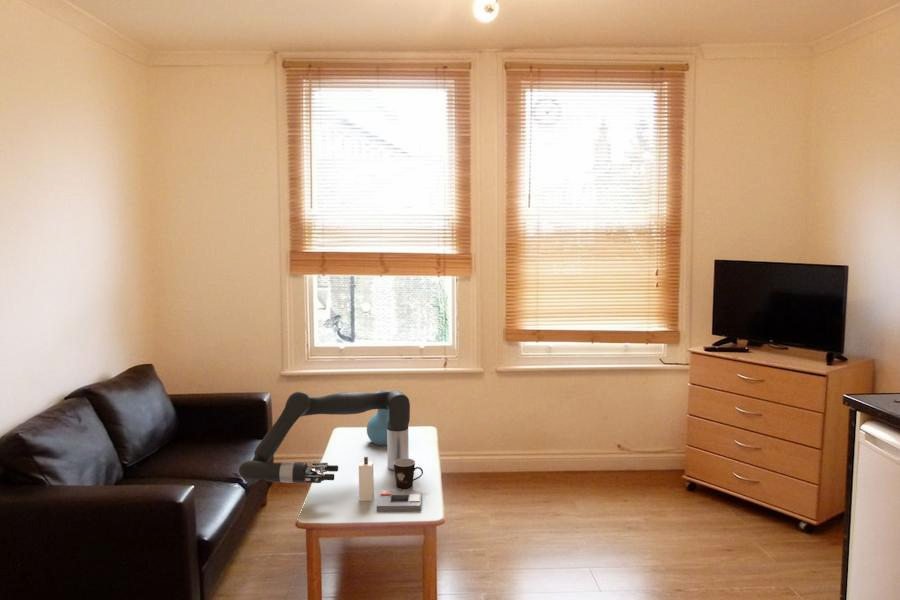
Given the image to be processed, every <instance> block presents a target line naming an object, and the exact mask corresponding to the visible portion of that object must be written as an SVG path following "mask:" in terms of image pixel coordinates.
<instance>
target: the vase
mask: <svg viewBox="0 0 900 600" xmlns="http://www.w3.org/2000/svg"><path fill="white" fill-rule="evenodd" d="M386 391H387V390H378V391H376V392H375V393H378V392H386ZM388 421H389V410H386V409H377V411H376V413H375V414H373V415H372V416H371V417H370V419H369V421H368V422H367V425H366V434H367V437H368V439H369V440H370V441H371V442H372V443H373V444H374V445H378V446H387V422H388Z"/></svg>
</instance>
